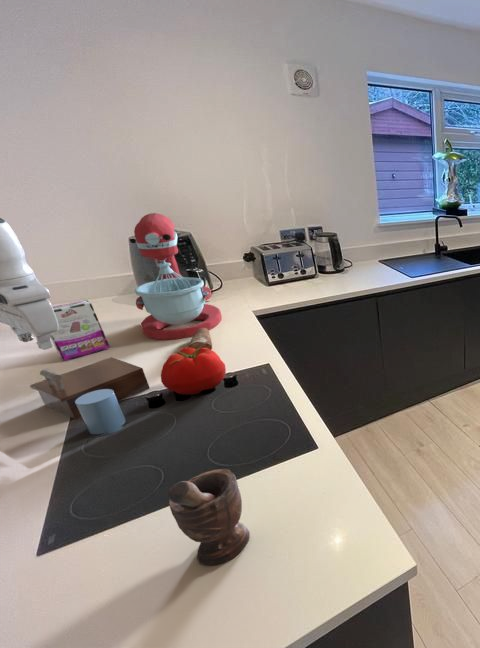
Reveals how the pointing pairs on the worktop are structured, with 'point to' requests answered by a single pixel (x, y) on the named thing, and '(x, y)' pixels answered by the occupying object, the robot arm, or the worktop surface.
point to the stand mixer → (170, 285)
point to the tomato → (192, 371)
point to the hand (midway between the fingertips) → (36, 344)
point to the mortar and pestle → (210, 515)
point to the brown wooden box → (120, 388)
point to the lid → (84, 378)
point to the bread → (201, 339)
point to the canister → (101, 412)
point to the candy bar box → (78, 331)
